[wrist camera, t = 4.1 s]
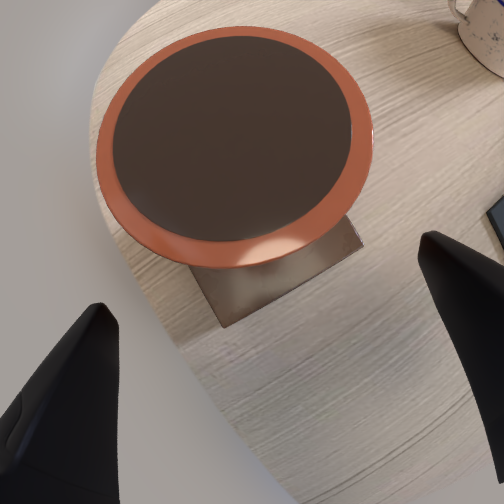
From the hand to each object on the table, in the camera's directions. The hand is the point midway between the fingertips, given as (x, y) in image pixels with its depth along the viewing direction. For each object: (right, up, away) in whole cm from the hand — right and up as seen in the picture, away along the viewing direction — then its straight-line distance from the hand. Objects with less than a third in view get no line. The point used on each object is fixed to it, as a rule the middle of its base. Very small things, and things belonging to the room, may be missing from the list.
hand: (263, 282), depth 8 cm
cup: (0, +2, +7) cm, 7 cm away
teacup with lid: (+24, +23, +12) cm, 36 cm away
